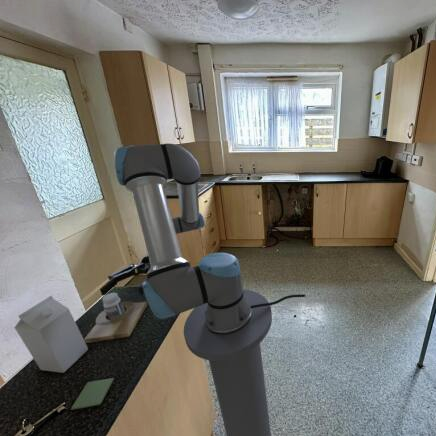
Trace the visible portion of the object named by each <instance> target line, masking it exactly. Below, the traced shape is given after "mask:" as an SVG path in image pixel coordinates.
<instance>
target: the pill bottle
mask: <svg viewBox="0 0 436 436" xmlns="http://www.w3.org/2000/svg"><path fill="white" fill-rule="evenodd" d="M122 302H123V301H122V298H121V297H119V295H118V293H117V292H111V293H110V292H109V293H107V294H105V295H103V296H102V303H103V305H102V306H103V310H105V311H106V313H107V316H108V320H111V319H115V318H118V317H120V316H122V315H123V314H124V313H125V312H126V310H125V309H124V306H123V304H122Z"/></svg>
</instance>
